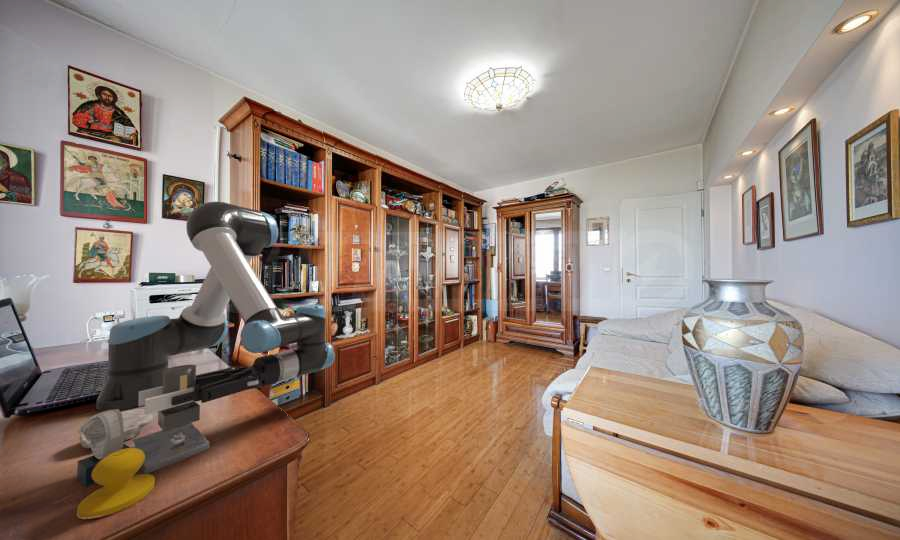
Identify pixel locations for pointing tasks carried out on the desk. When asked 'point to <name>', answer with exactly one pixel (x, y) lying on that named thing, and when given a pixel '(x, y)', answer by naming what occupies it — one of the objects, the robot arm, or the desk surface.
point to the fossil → (128, 424)
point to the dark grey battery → (183, 413)
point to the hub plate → (170, 446)
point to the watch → (96, 431)
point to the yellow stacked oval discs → (117, 483)
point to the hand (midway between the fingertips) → (142, 402)
